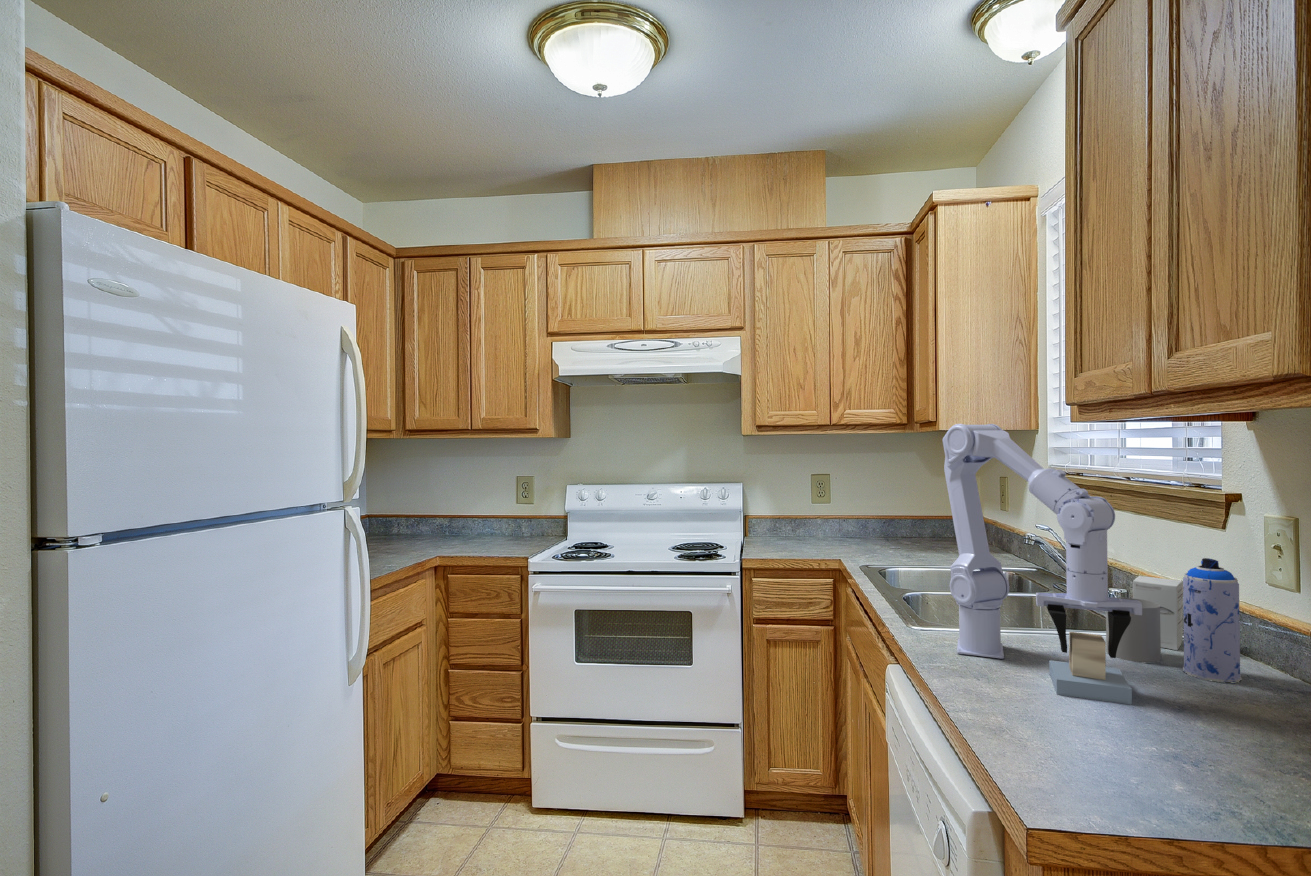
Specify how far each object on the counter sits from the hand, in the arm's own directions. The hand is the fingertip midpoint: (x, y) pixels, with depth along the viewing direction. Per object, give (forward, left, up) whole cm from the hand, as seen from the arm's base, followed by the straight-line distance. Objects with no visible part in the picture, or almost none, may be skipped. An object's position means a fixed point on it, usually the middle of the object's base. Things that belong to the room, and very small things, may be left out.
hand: (1087, 653), depth 109 cm
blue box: (0, 0, -6) cm, 6 cm away
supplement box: (-34, +16, -6) cm, 38 cm away
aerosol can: (-16, +20, -6) cm, 26 cm away
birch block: (0, 0, -3) cm, 3 cm away
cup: (-23, +10, -6) cm, 26 cm away
